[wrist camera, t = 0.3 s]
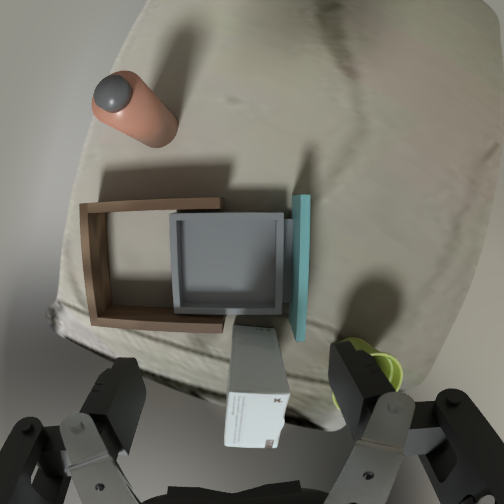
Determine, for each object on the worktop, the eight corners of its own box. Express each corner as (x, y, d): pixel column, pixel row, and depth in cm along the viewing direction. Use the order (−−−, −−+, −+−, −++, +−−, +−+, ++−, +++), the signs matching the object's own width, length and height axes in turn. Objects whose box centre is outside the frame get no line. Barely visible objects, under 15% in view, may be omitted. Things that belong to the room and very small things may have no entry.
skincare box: (232, 323, 40) (225, 386, 25) (278, 327, 40) (292, 391, 25) (228, 375, 41) (220, 448, 26) (270, 379, 41) (278, 451, 26)
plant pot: (367, 313, 40) (393, 339, 31) (385, 362, 41) (409, 392, 32) (307, 345, 40) (321, 378, 32) (331, 391, 42) (346, 426, 33)
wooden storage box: (97, 202, 37) (79, 203, 32) (223, 198, 37) (219, 197, 32) (106, 312, 39) (91, 325, 34) (225, 317, 39) (222, 333, 34)
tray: (175, 196, 37) (160, 195, 30) (299, 195, 37) (310, 194, 30) (180, 319, 39) (168, 340, 33) (296, 320, 39) (304, 341, 33)
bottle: (140, 112, 35) (88, 70, 20) (178, 108, 35) (140, 59, 20) (138, 149, 36) (81, 124, 21) (177, 146, 36) (135, 115, 21)
